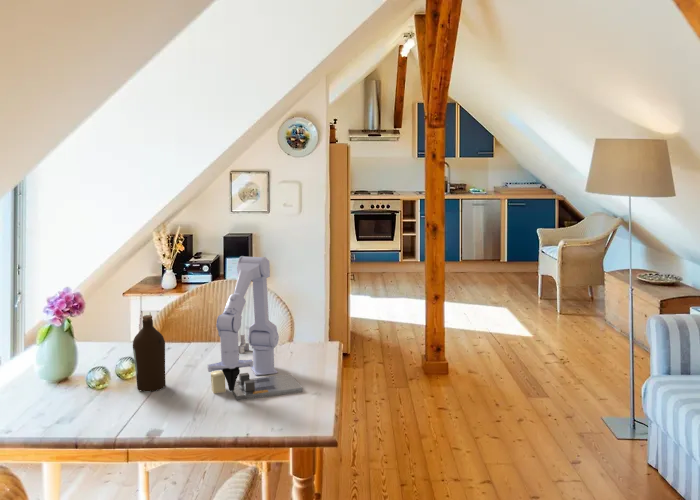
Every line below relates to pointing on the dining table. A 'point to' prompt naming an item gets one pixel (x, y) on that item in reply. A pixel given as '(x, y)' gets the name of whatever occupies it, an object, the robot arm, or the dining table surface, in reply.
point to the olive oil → (149, 357)
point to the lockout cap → (218, 382)
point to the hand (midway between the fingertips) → (231, 389)
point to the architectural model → (243, 344)
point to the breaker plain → (243, 377)
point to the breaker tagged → (249, 385)
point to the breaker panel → (268, 387)
